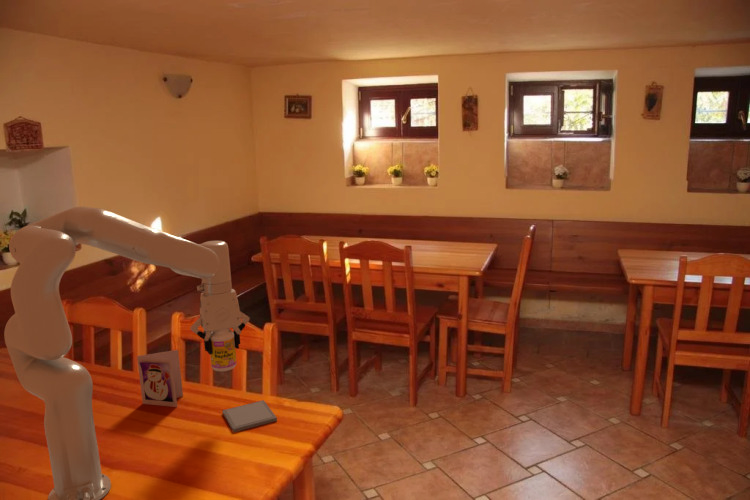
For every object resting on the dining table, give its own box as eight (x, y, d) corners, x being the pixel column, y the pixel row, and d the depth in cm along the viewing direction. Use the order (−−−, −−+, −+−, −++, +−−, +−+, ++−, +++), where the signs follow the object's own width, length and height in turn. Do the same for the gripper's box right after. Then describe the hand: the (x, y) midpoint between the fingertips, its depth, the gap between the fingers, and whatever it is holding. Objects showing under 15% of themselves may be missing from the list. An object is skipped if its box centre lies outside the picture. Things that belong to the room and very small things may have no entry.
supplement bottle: (212, 373, 160) (207, 328, 157) (211, 364, 166) (207, 320, 163) (237, 370, 162) (233, 325, 159) (235, 361, 168) (232, 317, 165)
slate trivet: (276, 420, 163) (276, 417, 163) (233, 432, 158) (233, 428, 158) (263, 403, 174) (263, 399, 173) (222, 413, 168) (222, 410, 168)
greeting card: (141, 405, 175) (135, 357, 172) (155, 393, 182) (150, 347, 179) (175, 408, 172) (170, 359, 169) (189, 396, 179) (184, 350, 176)
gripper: (187, 296, 152) (194, 361, 155) (253, 285, 160) (258, 347, 164) (181, 289, 158) (187, 352, 162) (244, 279, 166) (249, 339, 170)
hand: (223, 349), depth 163 cm, fingers closed on supplement bottle, 6 cm apart
